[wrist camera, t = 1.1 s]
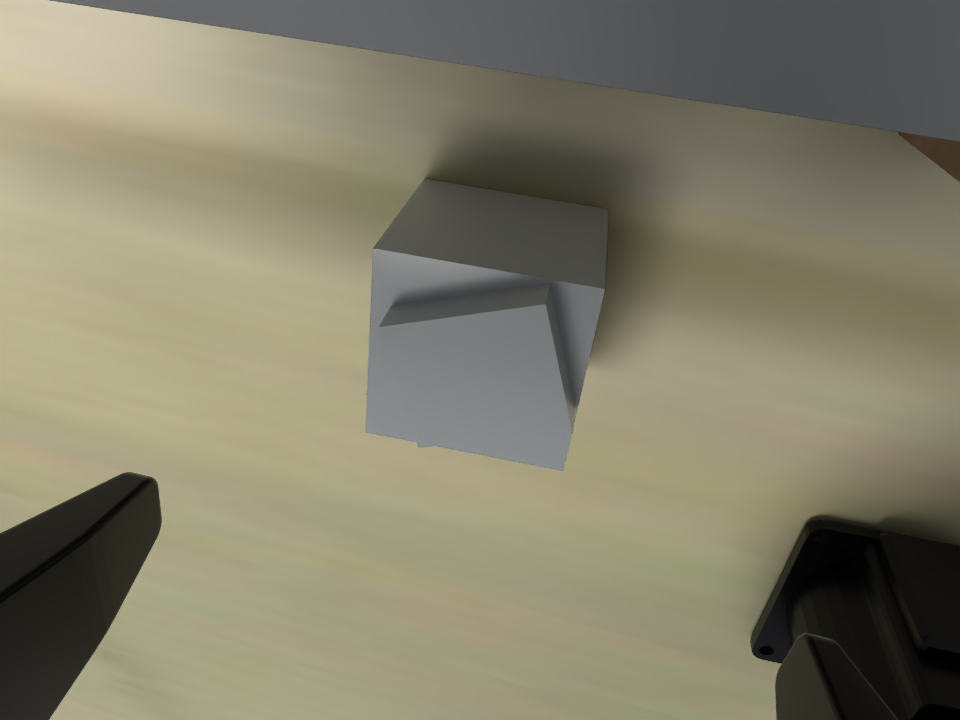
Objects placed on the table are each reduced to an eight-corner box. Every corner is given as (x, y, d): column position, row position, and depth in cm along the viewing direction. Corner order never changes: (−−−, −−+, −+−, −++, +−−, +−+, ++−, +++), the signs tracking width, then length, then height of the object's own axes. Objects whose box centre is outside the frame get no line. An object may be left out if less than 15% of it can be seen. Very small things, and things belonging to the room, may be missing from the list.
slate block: (573, 365, 22) (560, 498, 17) (412, 335, 23) (353, 457, 18) (608, 208, 20) (604, 311, 15) (425, 178, 20) (359, 267, 15)
